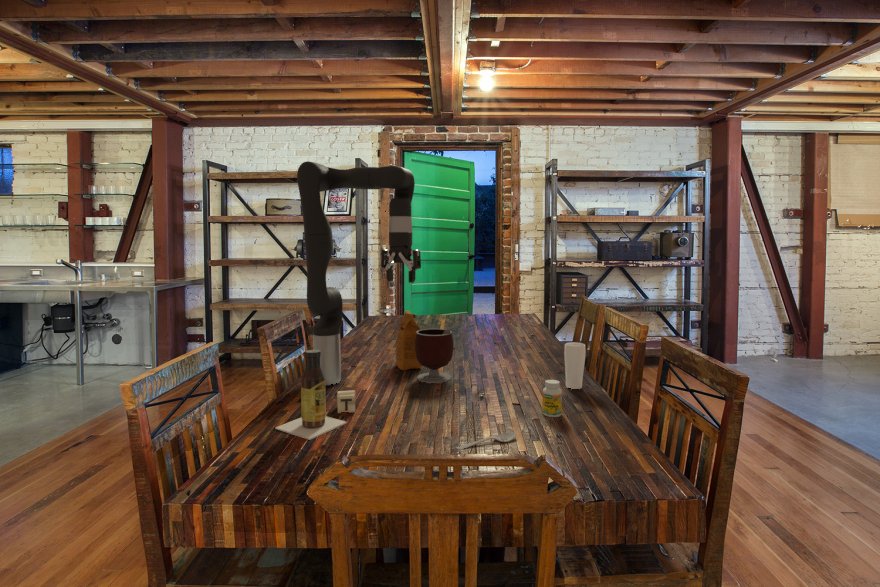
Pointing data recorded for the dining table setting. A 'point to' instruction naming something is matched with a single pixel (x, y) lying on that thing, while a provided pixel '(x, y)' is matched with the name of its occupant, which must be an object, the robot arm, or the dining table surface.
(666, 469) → the dining table surface
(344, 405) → the letter block
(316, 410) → the sauce bottle
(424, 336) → the mate gourd
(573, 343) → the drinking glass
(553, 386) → the supplement bottle
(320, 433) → the beige mat
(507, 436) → the spoon
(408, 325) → the coffee package
